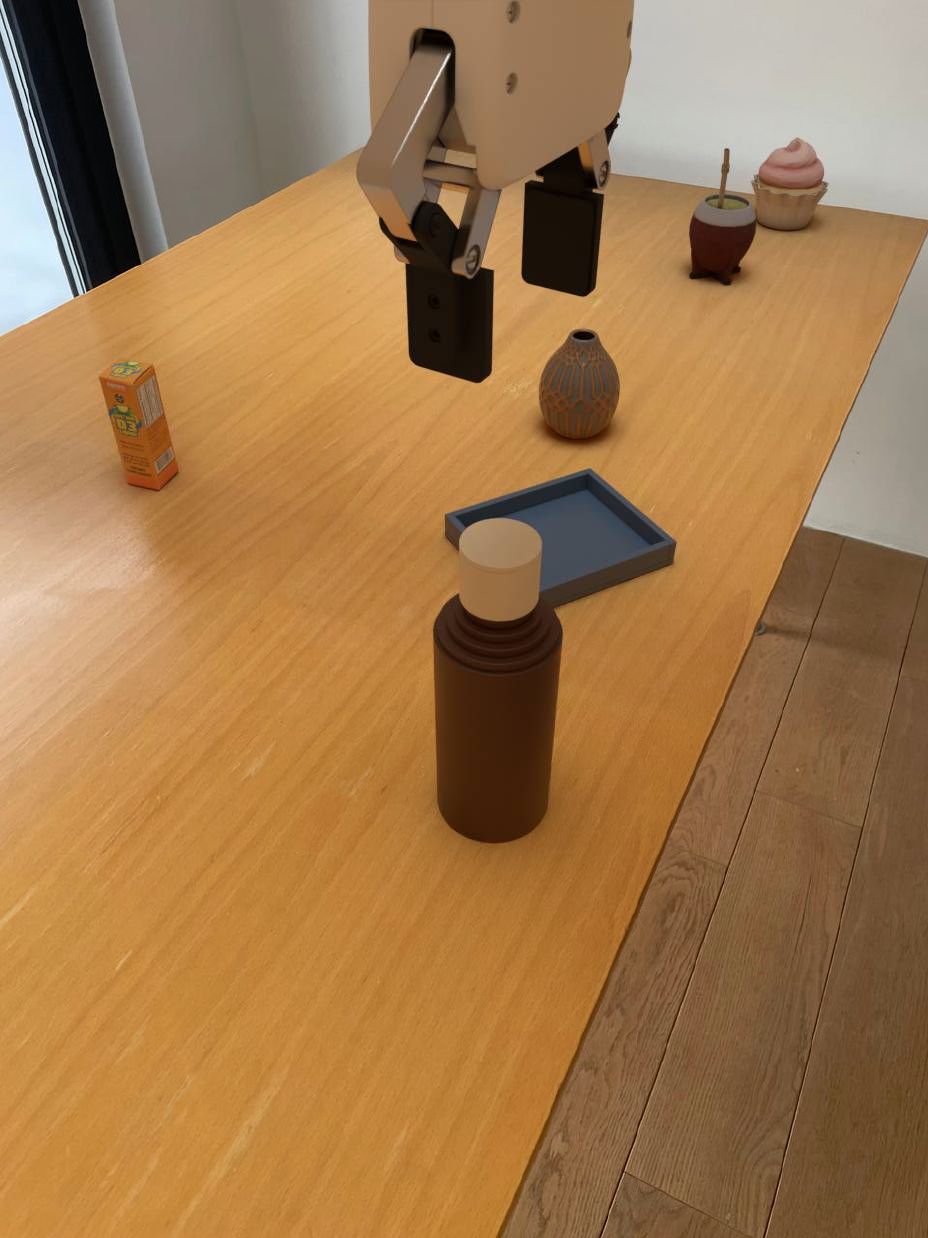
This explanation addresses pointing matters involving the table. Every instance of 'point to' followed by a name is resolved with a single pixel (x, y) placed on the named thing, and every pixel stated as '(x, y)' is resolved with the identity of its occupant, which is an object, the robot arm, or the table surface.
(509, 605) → the cap
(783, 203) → the cupcake
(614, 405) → the vase
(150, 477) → the supplement box
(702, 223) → the mate gourd
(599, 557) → the tray
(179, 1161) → the table surface
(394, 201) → the robot arm
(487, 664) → the bottle
